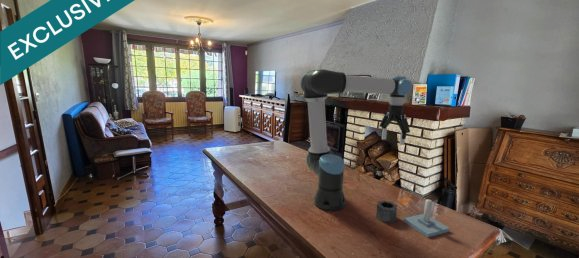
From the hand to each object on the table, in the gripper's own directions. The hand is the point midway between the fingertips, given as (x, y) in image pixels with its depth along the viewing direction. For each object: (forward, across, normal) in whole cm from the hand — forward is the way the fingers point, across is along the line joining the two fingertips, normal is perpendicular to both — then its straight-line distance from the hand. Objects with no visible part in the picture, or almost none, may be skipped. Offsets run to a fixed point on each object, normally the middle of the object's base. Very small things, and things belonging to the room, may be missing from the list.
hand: (392, 141), depth 142 cm
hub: (+26, -29, +28) cm, 48 cm away
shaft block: (+26, -40, +18) cm, 51 cm away
